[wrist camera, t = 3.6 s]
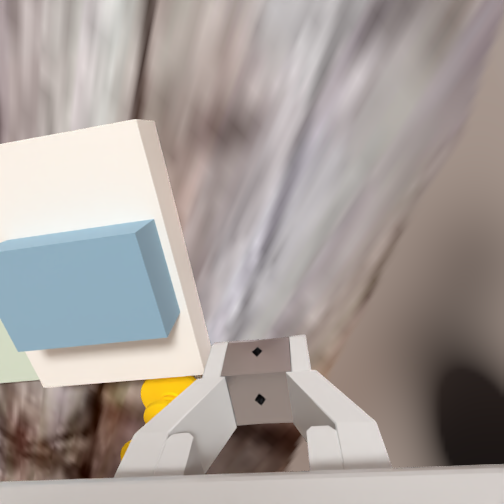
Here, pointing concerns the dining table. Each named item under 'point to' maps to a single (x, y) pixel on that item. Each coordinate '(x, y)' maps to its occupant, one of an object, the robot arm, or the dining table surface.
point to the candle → (160, 396)
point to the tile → (86, 287)
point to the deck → (96, 215)
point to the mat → (13, 361)
